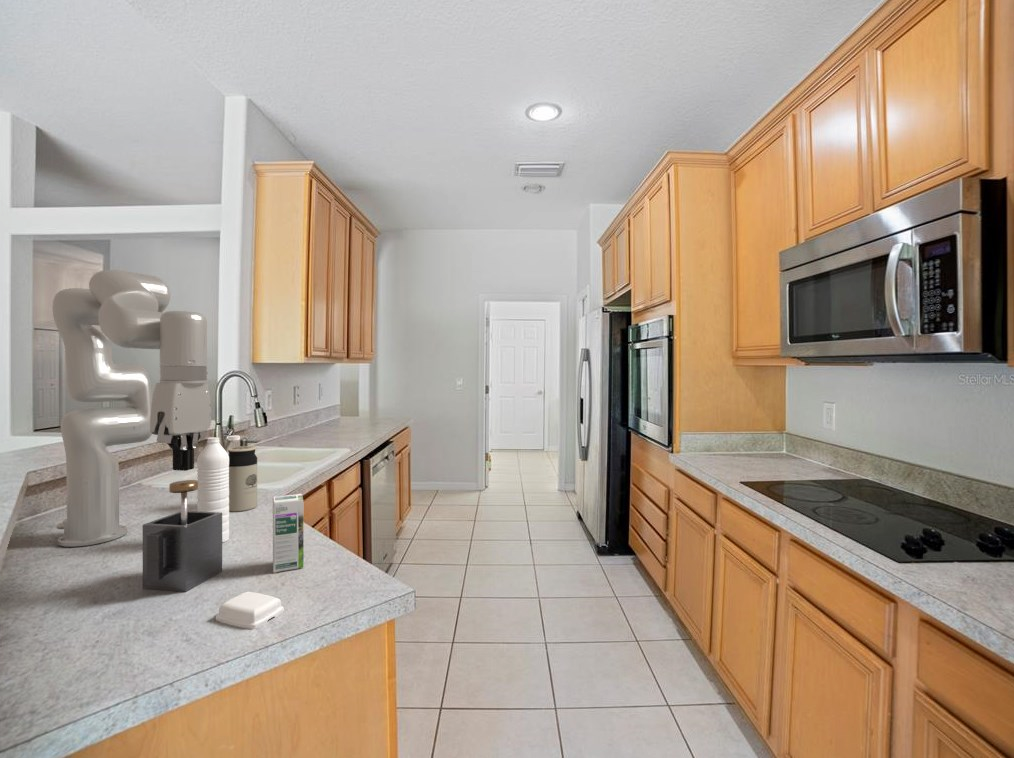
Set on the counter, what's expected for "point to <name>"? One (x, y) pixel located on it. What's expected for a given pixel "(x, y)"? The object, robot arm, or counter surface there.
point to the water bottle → (214, 481)
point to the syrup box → (288, 533)
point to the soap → (249, 610)
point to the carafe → (182, 551)
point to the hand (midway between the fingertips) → (183, 469)
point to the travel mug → (242, 478)
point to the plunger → (183, 495)
